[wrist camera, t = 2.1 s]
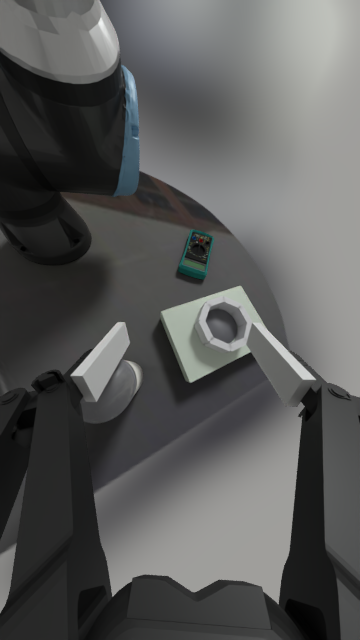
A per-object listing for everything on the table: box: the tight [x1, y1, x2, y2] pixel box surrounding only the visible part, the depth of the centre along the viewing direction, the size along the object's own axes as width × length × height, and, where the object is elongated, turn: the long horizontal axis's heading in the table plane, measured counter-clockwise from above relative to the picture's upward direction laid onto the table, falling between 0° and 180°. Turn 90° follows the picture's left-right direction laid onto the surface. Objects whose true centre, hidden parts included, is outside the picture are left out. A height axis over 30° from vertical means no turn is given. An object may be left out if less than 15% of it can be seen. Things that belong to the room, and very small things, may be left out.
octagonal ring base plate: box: [160, 286, 266, 383], centre depth 28 cm, size 14×20×7 cm
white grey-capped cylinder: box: [80, 359, 144, 423], centre depth 19 cm, size 6×6×12 cm
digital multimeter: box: [178, 230, 214, 280], centre depth 37 cm, size 7×15×3 cm, turn 166°
